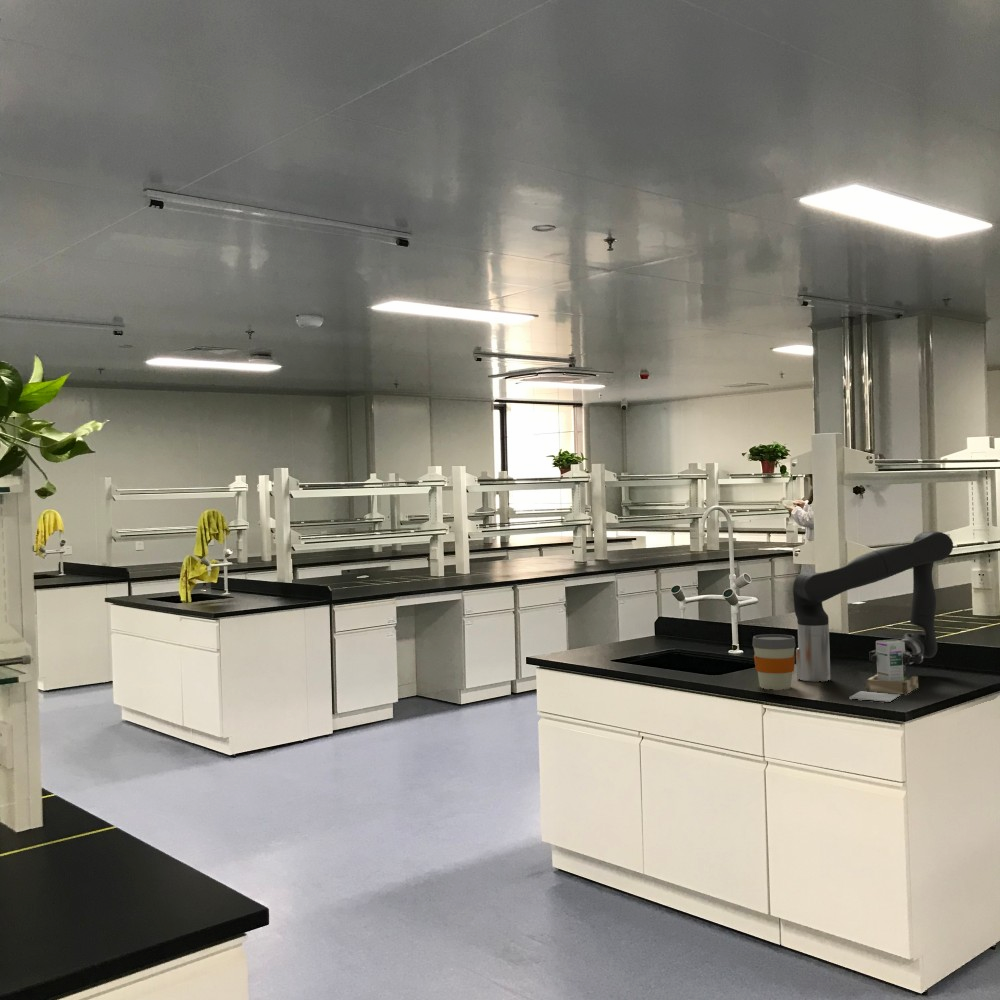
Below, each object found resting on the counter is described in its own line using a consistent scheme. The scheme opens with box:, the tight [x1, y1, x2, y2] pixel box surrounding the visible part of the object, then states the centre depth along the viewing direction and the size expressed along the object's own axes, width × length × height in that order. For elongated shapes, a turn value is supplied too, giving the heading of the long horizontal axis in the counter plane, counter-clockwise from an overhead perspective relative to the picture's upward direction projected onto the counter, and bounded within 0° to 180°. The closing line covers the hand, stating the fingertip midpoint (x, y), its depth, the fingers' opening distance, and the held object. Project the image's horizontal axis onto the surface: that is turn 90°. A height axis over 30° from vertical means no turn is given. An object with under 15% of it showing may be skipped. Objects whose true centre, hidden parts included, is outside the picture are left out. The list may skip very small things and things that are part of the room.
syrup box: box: [875, 638, 907, 682], centre depth 287 cm, size 6×6×14 cm
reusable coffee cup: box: [752, 633, 797, 691], centre depth 298 cm, size 13×12×15 cm
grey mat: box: [848, 690, 901, 703], centre depth 278 cm, size 11×10×1 cm
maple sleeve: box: [865, 674, 919, 695], centre depth 288 cm, size 12×11×4 cm
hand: (889, 660), depth 286 cm, fingers closed on syrup box, 8 cm apart
